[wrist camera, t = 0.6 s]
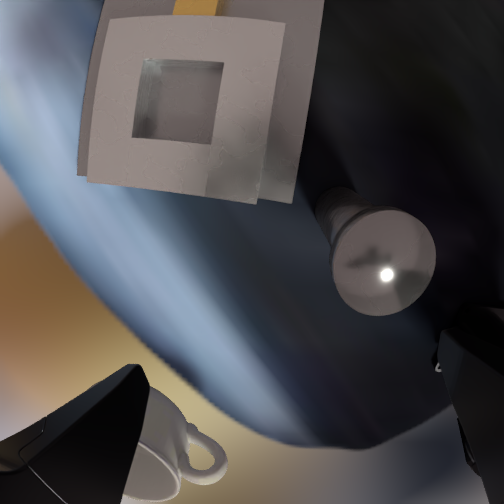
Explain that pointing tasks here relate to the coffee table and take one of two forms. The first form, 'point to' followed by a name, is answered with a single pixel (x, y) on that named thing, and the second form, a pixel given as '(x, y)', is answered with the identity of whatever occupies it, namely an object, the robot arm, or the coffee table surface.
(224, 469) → the teacup
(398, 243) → the pin
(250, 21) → the knob backplate
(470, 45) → the coffee table surface
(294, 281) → the coffee table surface
